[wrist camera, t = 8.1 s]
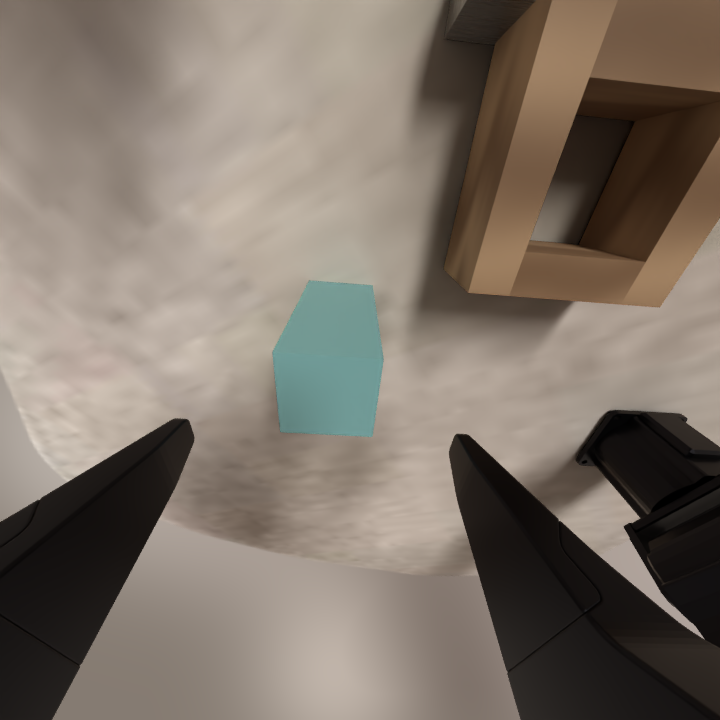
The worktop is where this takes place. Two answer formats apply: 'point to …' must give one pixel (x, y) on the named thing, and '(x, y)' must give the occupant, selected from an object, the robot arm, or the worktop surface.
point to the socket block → (632, 170)
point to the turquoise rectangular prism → (330, 362)
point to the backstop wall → (483, 19)
